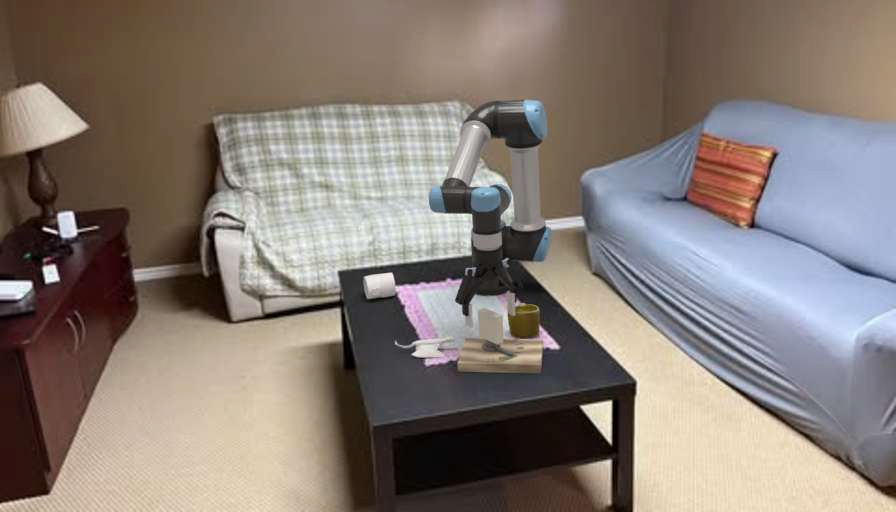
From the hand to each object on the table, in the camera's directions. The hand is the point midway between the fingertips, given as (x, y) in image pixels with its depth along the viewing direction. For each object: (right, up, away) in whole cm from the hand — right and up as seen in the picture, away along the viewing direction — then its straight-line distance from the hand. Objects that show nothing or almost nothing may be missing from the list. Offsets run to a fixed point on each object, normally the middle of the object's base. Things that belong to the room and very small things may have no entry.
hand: (490, 320), depth 211 cm
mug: (+11, -5, +18) cm, 21 cm away
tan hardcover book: (+3, -11, +1) cm, 11 cm away
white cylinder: (-35, +4, +52) cm, 63 cm away
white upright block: (+2, -8, 0) cm, 8 cm away
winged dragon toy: (-18, -10, +9) cm, 23 cm away
